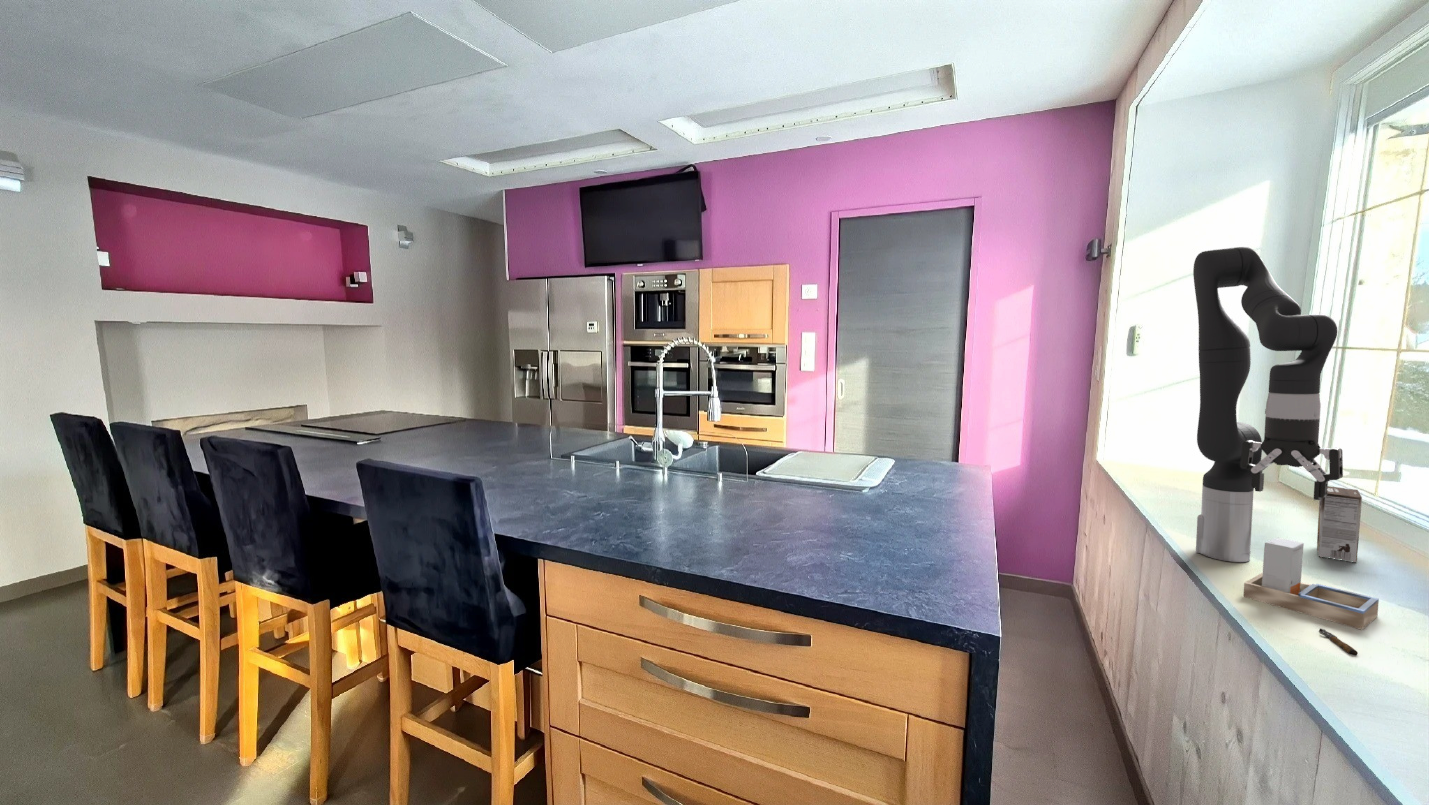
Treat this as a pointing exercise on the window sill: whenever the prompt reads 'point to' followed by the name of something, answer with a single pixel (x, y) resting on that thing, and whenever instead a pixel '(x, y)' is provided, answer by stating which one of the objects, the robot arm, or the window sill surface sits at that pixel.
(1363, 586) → the window sill surface
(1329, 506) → the coffee box
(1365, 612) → the organiser
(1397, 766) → the window sill surface
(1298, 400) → the robot arm
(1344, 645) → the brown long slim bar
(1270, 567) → the skincare box
